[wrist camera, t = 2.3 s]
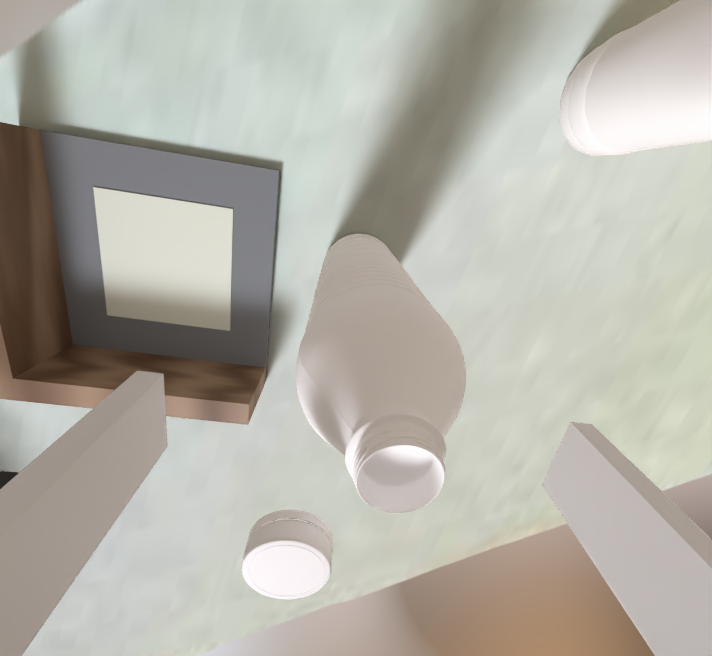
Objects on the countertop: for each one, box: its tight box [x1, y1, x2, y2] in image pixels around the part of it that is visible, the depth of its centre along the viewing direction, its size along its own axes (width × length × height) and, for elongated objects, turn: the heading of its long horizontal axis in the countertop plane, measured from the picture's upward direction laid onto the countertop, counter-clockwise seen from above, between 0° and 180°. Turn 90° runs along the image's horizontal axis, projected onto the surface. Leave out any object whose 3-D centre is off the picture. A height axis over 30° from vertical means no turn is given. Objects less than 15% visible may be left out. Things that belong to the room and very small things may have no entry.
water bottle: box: [241, 234, 466, 599], centre depth 20 cm, size 9×6×25 cm
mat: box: [40, 130, 280, 367], centre depth 31 cm, size 18×18×1 cm
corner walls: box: [0, 122, 267, 425], centre depth 28 cm, size 20×20×7 cm
